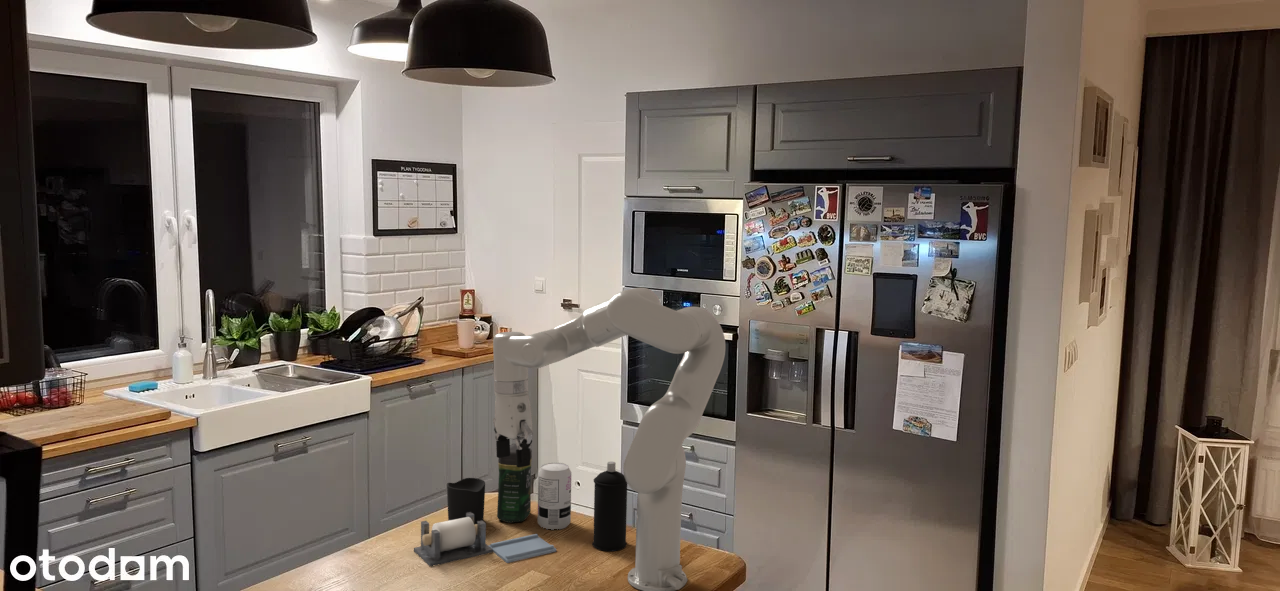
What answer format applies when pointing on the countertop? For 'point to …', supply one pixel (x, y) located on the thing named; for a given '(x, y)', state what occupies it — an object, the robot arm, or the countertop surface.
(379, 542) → the countertop surface
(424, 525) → the holder
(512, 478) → the coffee jar
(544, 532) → the countertop surface
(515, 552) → the rest
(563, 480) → the supplement can
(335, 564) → the countertop surface
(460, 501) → the pen holder
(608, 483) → the aerosol can
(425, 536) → the paper roll
